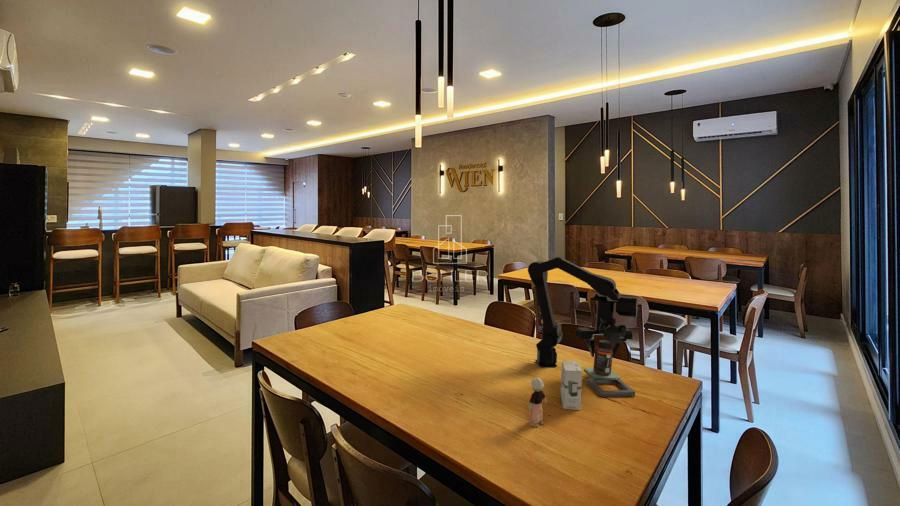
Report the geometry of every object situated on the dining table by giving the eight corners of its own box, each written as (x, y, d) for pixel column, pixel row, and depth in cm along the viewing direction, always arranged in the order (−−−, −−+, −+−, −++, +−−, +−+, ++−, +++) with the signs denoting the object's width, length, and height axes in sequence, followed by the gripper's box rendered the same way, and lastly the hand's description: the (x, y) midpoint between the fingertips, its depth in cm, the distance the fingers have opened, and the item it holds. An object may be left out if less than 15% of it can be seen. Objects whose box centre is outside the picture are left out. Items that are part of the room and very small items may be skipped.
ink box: (559, 396, 128) (561, 359, 127) (576, 397, 128) (577, 360, 127) (563, 409, 120) (565, 369, 119) (580, 410, 119) (582, 371, 118)
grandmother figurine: (534, 416, 115) (536, 372, 114) (547, 420, 113) (549, 375, 112) (522, 427, 109) (524, 381, 107) (536, 432, 106) (538, 384, 105)
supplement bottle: (612, 376, 143) (615, 345, 143) (594, 374, 145) (597, 343, 144) (609, 370, 149) (612, 340, 148) (592, 368, 150) (594, 338, 150)
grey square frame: (601, 396, 128) (601, 392, 128) (586, 382, 139) (587, 378, 139) (634, 396, 129) (635, 391, 129) (618, 382, 140) (618, 378, 140)
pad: (595, 379, 142) (595, 378, 142) (584, 370, 151) (584, 368, 151) (620, 379, 143) (620, 377, 143) (608, 369, 152) (608, 368, 152)
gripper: (588, 319, 136) (586, 365, 138) (642, 319, 138) (640, 364, 139) (576, 311, 147) (573, 354, 149) (626, 311, 149) (623, 353, 150)
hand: (602, 356), depth 146 cm, fingers open, 7 cm apart
